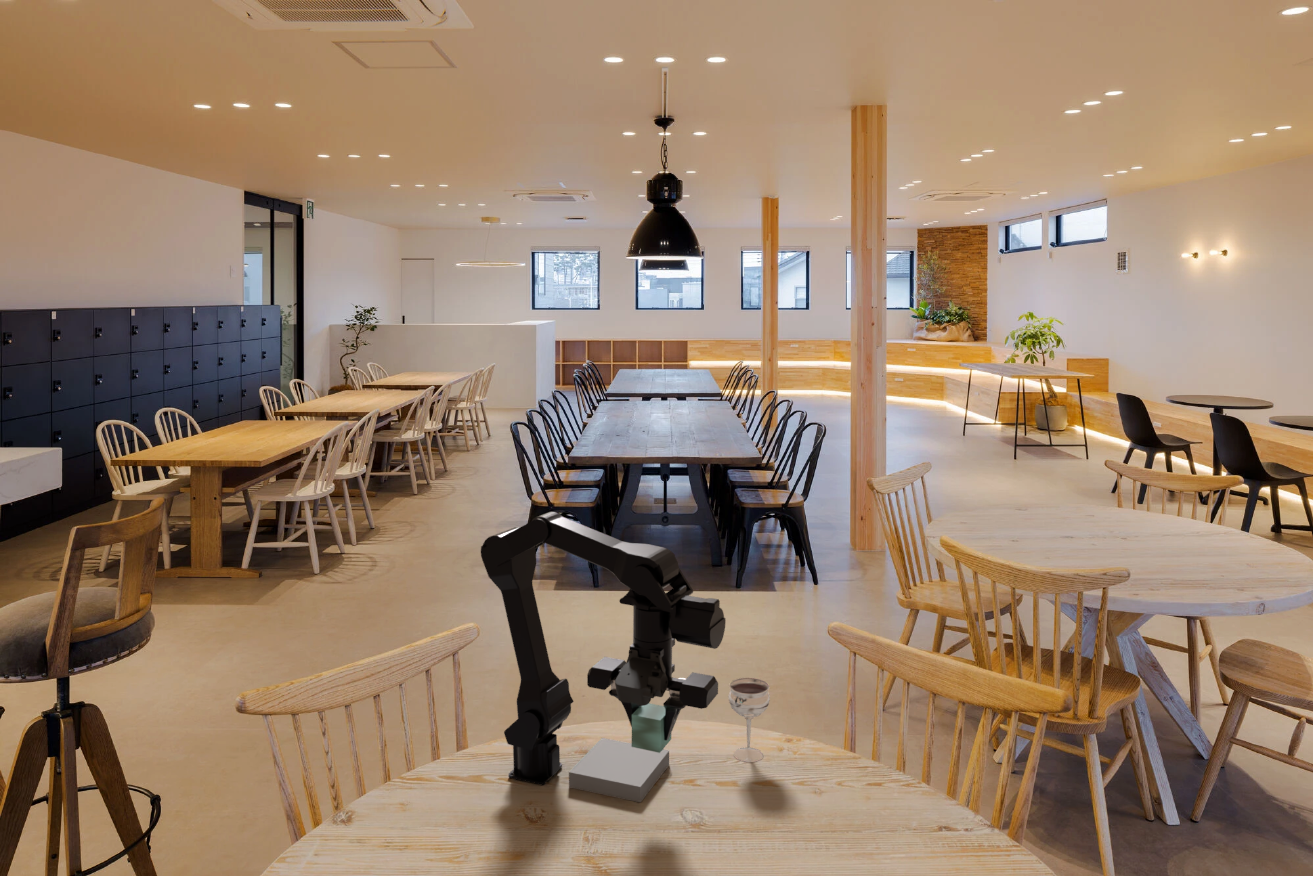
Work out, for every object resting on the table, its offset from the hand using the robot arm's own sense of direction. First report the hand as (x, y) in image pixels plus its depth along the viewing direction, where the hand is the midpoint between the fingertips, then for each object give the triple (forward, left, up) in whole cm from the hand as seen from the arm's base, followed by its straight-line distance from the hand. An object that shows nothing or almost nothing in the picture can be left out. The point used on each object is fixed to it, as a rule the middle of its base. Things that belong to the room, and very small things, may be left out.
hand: (651, 736), depth 134 cm
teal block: (0, 0, -1) cm, 1 cm away
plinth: (-8, +5, -11) cm, 14 cm away
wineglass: (+9, +19, -11) cm, 24 cm away
